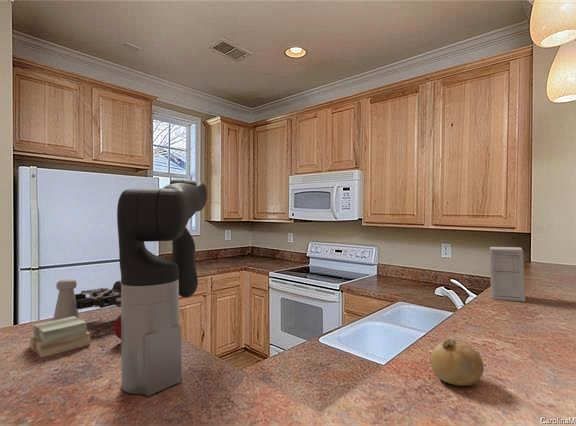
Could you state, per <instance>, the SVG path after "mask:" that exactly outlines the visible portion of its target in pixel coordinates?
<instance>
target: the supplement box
mask: <svg viewBox="0 0 576 426" xmlns="http://www.w3.org/2000/svg"><path fill="white" fill-rule="evenodd" d="M489 267H490V268H489V269H490V272H489V273H490V274H489V275H490V290H491V291H490V293H491V299H492V300H504V301H515V302H523V303H524V302H526V287H525V285H526V284H525V269H524V250H523V248H522V247H520V246H519V247H514V246H513V247H512V246H490V247H489Z"/></svg>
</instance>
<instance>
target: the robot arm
mask: <svg viewBox="0 0 576 426" xmlns="http://www.w3.org/2000/svg"><path fill="white" fill-rule="evenodd" d="M207 199H208V190H207V186H206V185H205V183H204V182H202V181H199V180H193V179H184V178H183V179H181V178H173V179H172V180H170V182H169V184H168V185H166V186H164V187H162V188H128V189H124V190H123V191H122V192H121V193H120V195H119V198H118V201H117V209H116V219H117V220H116V221H117V222H116V223H117V224H116V225H117V235H118V252H119V254H118V255H119V269H120V280H117V281H115V282H114V284H113V286H112V288H110V289H109V288H108V287H107V288H106V287H105V288H104V287H101V288H95V289H87V290H81V291H80V293H74V294H75V299H76V308H77V309H78V310H82V309H88V308H89V309H90V308H98V307H99V309H103V308H106V307H107V308H108V307H111V306H116V307H117V308H120V314H121V339H120V346H121V347H120V350H121V351H120V353H121V354H120V355H121V356H120V358H121V361H120V362H121V389H122V391H124V392H125V393H128V394H133V395H144V396H146V397H149V396H152V395H154V394H156V393H158V392H161V391H163V390H165V389H167V388H170V387H173V386H174V385H175V386H176V385H177V384H179V383H181V382H182V381H183V377H182V376H183V373H182V371H183V369H182V367H183V365H182V358H183V357H182V326H181V325H180V308H179V307H180V306H179V305H180V298H179V297H181V298H191V297H192V296H193V295H194V294H195V292H197V289H198V285H199V282H198V281H199V280H198V274H197V268H196V264H195V261H196V260H195V259H196V258H195V257H196V243H195V240H194V238H193V236H192V235H191V233H190V232H189V230H188V228H187V225H188V222H189V220H190V219H191V218H193V216H194V215H195V214H196V212H200V211H202V210H204V208H205V206H206V204H207ZM170 241H171V243H172V244H171V245H172V251H171V252H172V256H171V260H169V259H166V258H163V257H160V256H159V255H156V254H154V253H152V252H151V251H149V250H148V249H147V247H146V245H145V242H170ZM87 295H88V296H87Z"/></svg>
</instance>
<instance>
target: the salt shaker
mask: <svg viewBox="0 0 576 426" xmlns="http://www.w3.org/2000/svg"><path fill="white" fill-rule="evenodd" d="M55 286H56V290H58V294H57V301H56V304H55V309H54V314H53V317H52V318H53V319H52V321H53V320H58V319H63V318H68V317H73V316H75V317H77V318H79V319H81V318H80V313H79V309H77V308H76V299H75V294H76V293H75V290H74V289H76V288H77V280H76V279H73V278H66V279H65V278H64V279H61V280H58V281H57V282H56V285H55Z"/></svg>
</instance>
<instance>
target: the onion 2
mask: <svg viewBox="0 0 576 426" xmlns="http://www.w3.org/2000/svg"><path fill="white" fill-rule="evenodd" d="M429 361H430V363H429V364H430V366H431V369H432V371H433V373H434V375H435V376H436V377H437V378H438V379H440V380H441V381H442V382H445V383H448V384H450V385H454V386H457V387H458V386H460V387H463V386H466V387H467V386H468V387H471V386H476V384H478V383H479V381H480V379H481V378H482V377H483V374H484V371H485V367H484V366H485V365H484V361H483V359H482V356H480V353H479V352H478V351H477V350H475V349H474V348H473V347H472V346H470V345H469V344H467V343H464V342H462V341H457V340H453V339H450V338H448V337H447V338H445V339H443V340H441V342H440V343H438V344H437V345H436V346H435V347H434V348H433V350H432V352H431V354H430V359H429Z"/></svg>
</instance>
